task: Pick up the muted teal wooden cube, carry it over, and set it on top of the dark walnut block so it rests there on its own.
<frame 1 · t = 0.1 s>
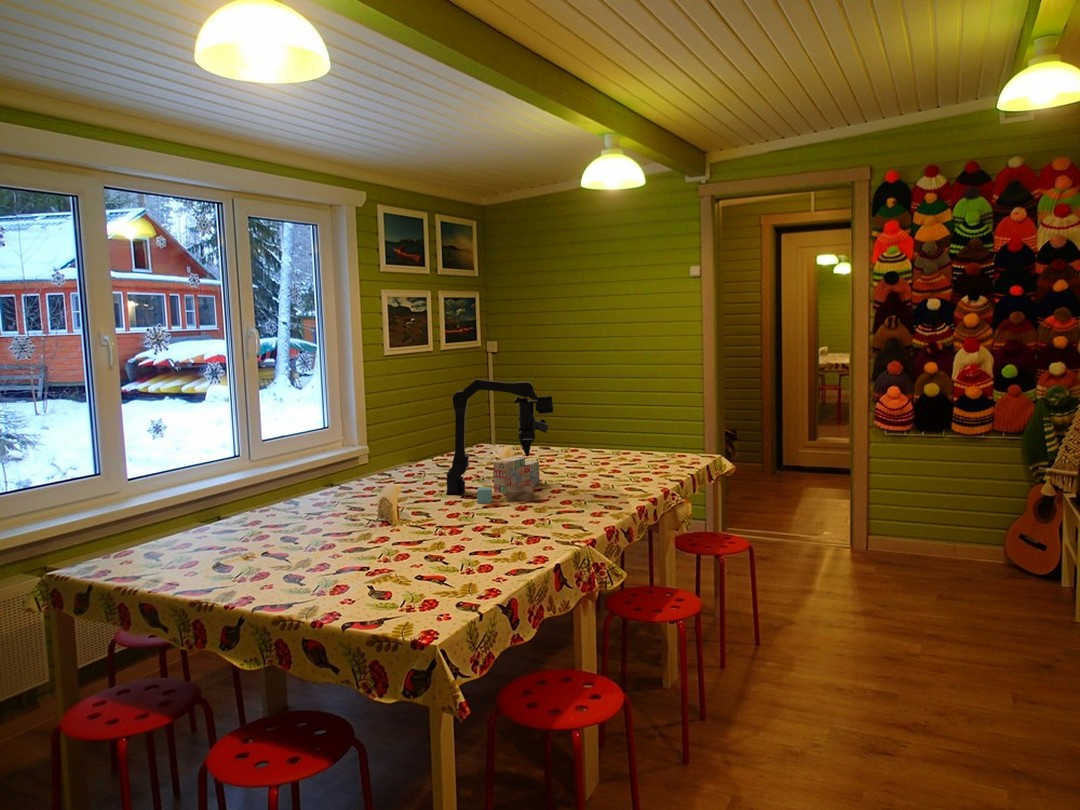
hand: (527, 454, 314), 15 cm above the table, fingers open, 9 cm apart
walnut block: (520, 499, 304), on the table
stack of blocks: (517, 488, 322), on the table
teal cube: (484, 502, 299), on the table
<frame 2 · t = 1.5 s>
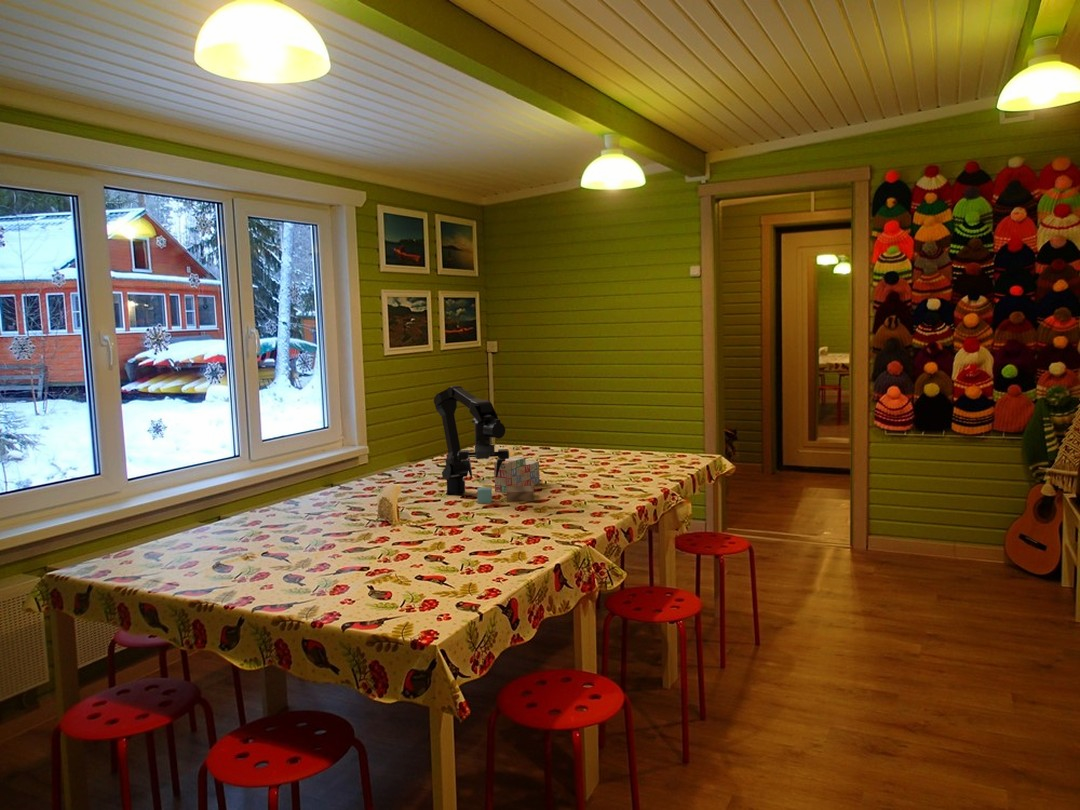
hand: (484, 477, 298), 9 cm above the table, fingers open, 9 cm apart
nothing on the table moved.
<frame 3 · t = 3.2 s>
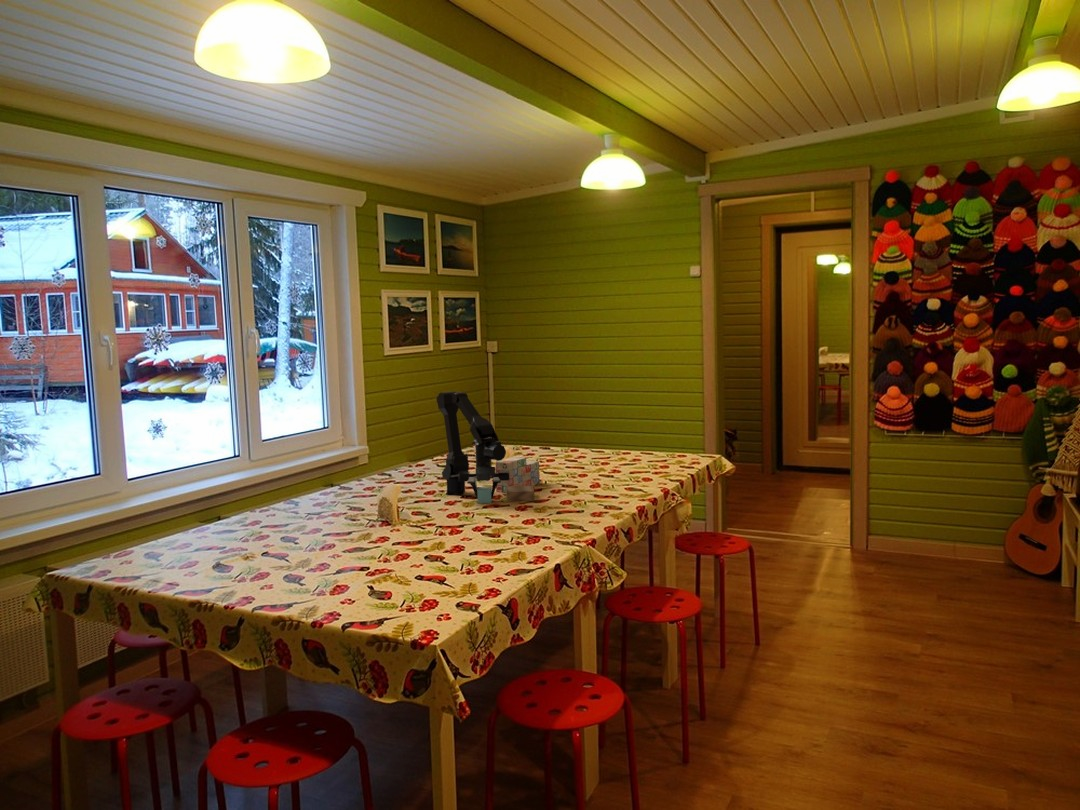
hand: (484, 498, 299), 1 cm above the table, fingers closed on teal cube, 5 cm apart
teal cube: (484, 501, 299), on the table, touching gripper
everything else where it was.
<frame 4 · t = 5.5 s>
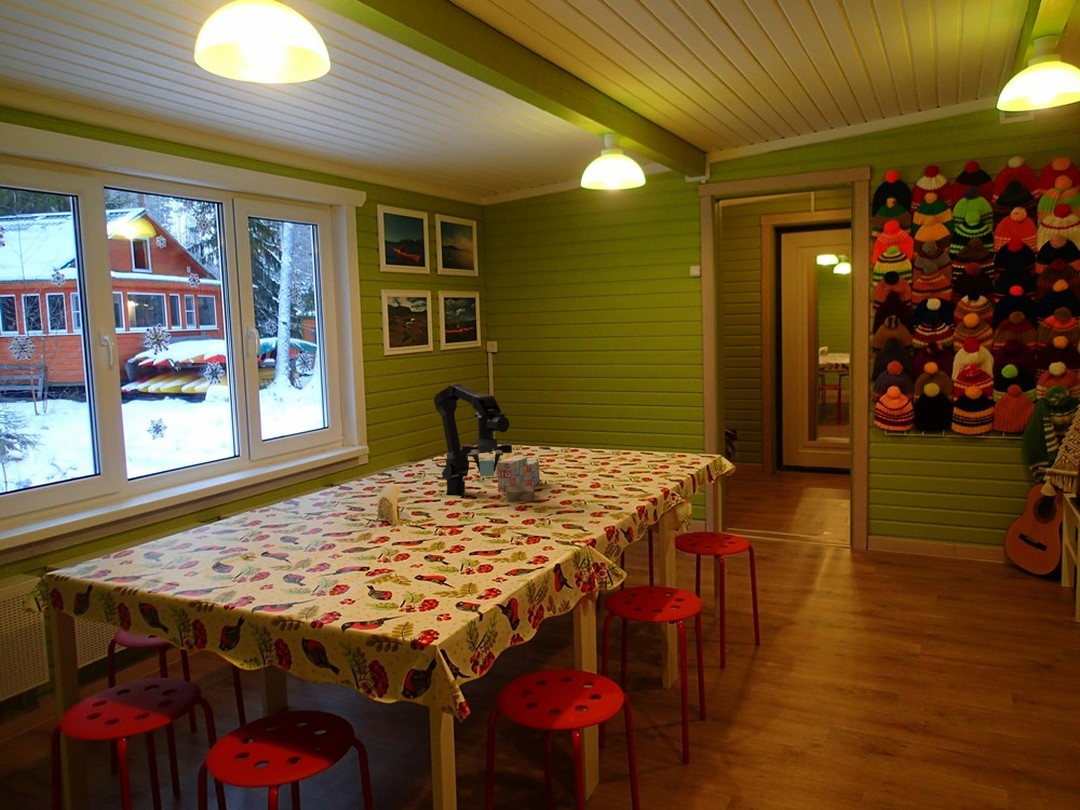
hand: (487, 471, 298), 11 cm above the table, fingers closed on teal cube, 5 cm apart
teal cube: (487, 474, 298), point 10 cm above the table, touching gripper
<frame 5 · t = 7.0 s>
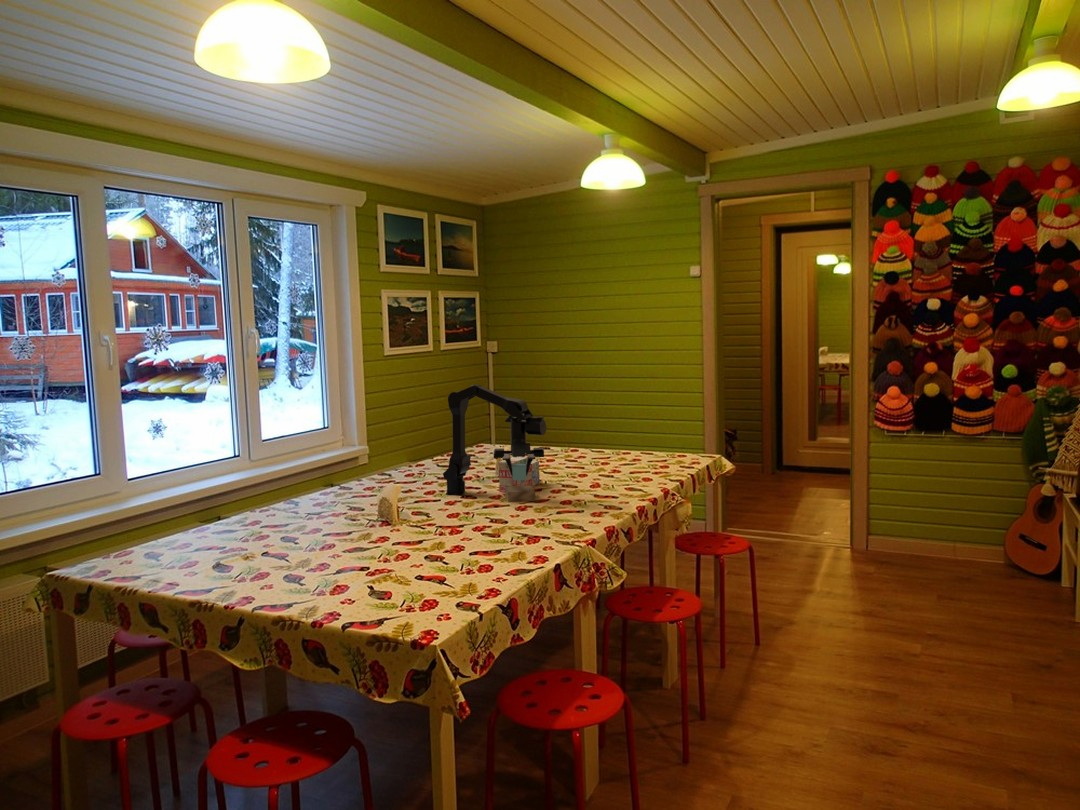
hand: (519, 475, 303), 9 cm above the table, fingers closed on teal cube, 5 cm apart
teal cube: (519, 478, 303), point 8 cm above the table, touching gripper
when the fingers open (6 cm above the table, at t = 8.2 s): teal cube drops 2 cm, point 4 cm above the table.
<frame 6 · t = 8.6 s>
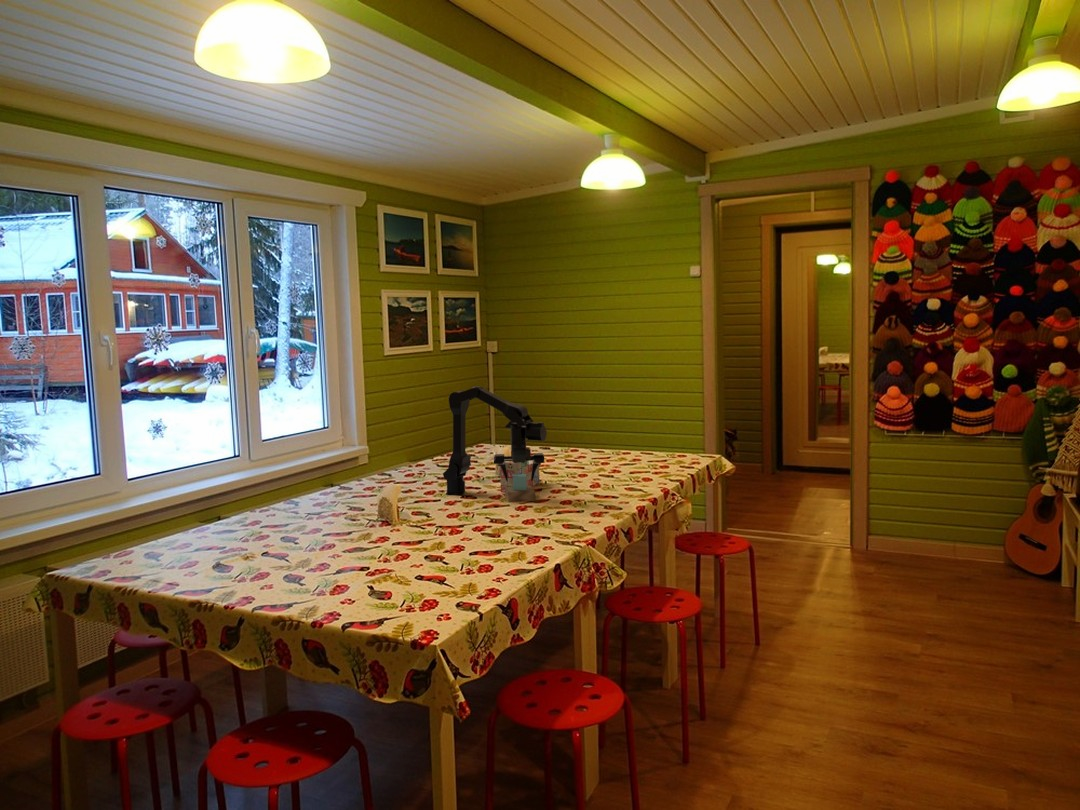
hand: (519, 481, 303), 6 cm above the table, fingers open, 9 cm apart
teal cube: (519, 489, 303), point 4 cm above the table
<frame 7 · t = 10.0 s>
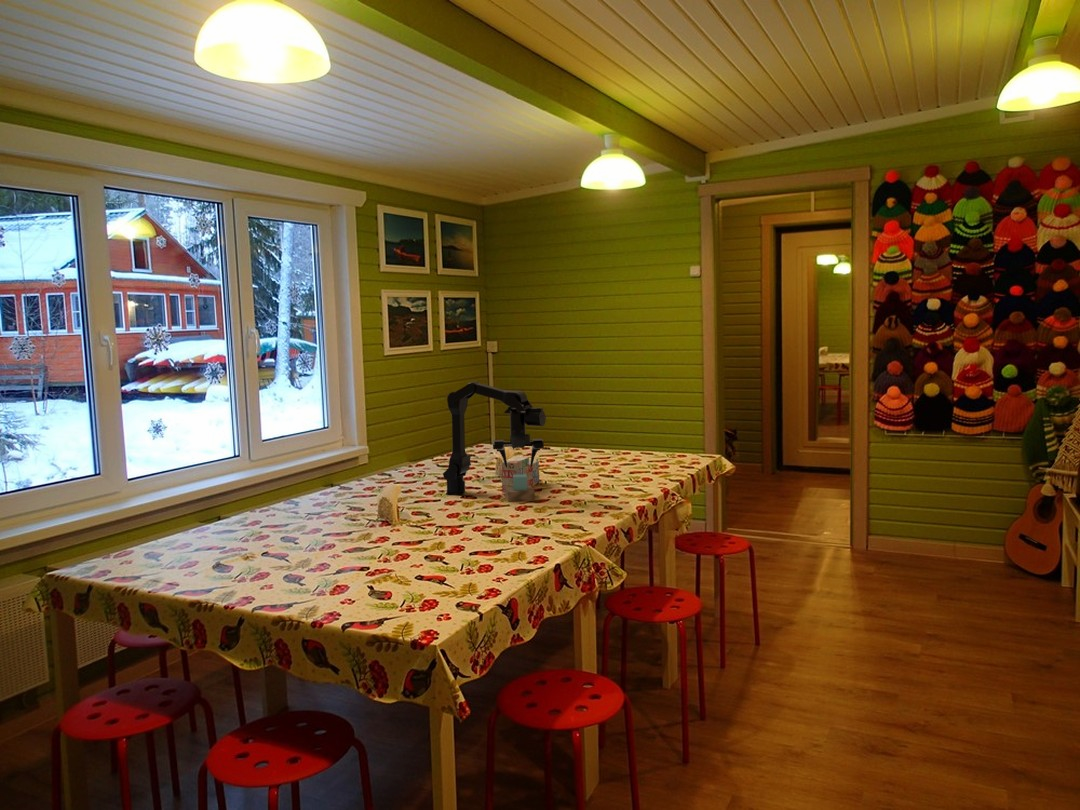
hand: (518, 466, 302), 12 cm above the table, fingers open, 9 cm apart
walnut block: (519, 499, 304), on the table, touching teal cube
teal cube: (520, 489, 303), point 4 cm above the table, touching walnut block
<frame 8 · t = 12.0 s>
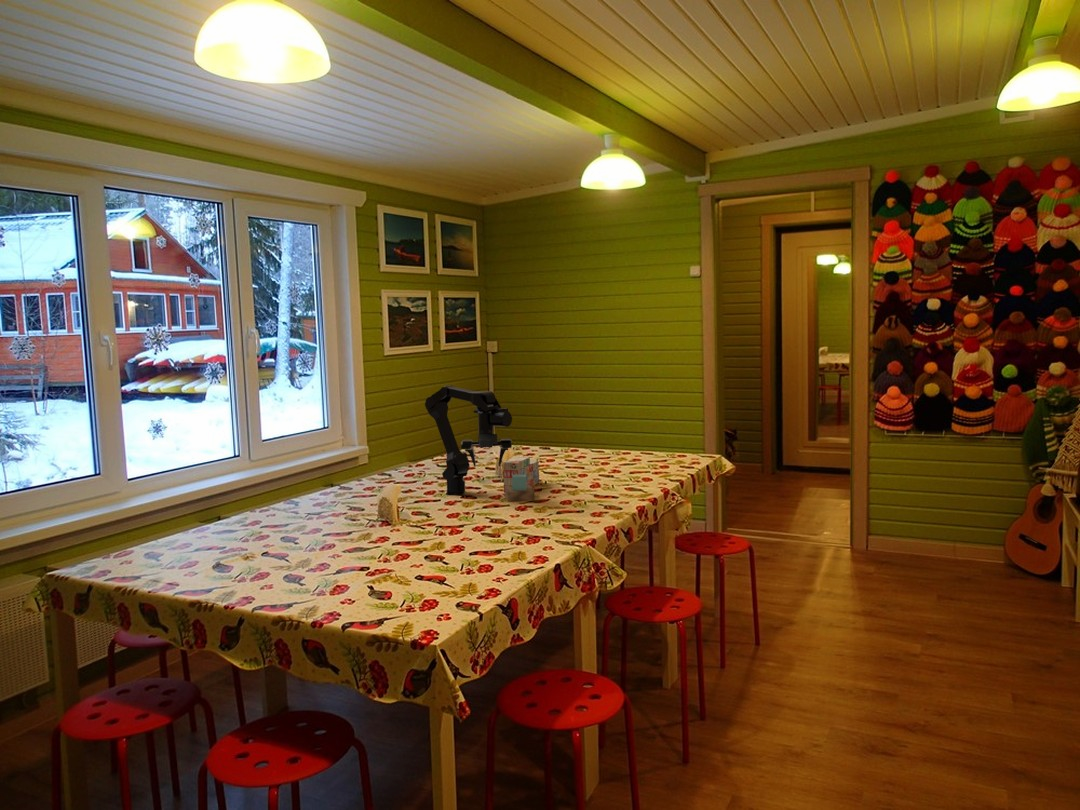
hand: (487, 466, 304), 12 cm above the table, fingers open, 9 cm apart
at the end: teal cube 0.8 cm off-centre on the walnut block, point 4.0 cm above the walnut block's base; teal cube tilted 0°; teal cube touching walnut block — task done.
